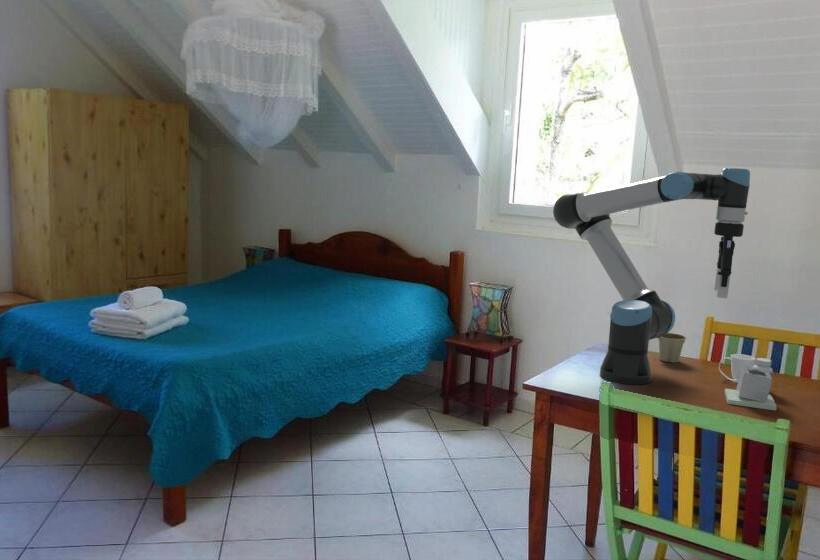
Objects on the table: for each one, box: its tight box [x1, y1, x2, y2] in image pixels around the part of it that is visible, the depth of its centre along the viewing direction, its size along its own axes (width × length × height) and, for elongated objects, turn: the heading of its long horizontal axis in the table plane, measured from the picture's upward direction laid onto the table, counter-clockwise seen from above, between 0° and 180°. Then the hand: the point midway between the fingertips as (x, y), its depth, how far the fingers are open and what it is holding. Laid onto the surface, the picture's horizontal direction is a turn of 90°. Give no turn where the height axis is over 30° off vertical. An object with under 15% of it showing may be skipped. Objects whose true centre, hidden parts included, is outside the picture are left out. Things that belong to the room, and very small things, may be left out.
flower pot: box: [657, 332, 688, 364], centre depth 231 cm, size 9×9×9 cm
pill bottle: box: [752, 357, 774, 393], centre depth 200 cm, size 5×5×10 cm
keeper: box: [724, 368, 777, 411], centre depth 190 cm, size 12×11×9 cm
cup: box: [718, 353, 757, 384], centre depth 209 cm, size 7×10×8 cm
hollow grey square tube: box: [735, 367, 773, 403], centre depth 190 cm, size 7×7×7 cm
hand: (720, 294), depth 199 cm, fingers open, 13 cm apart
